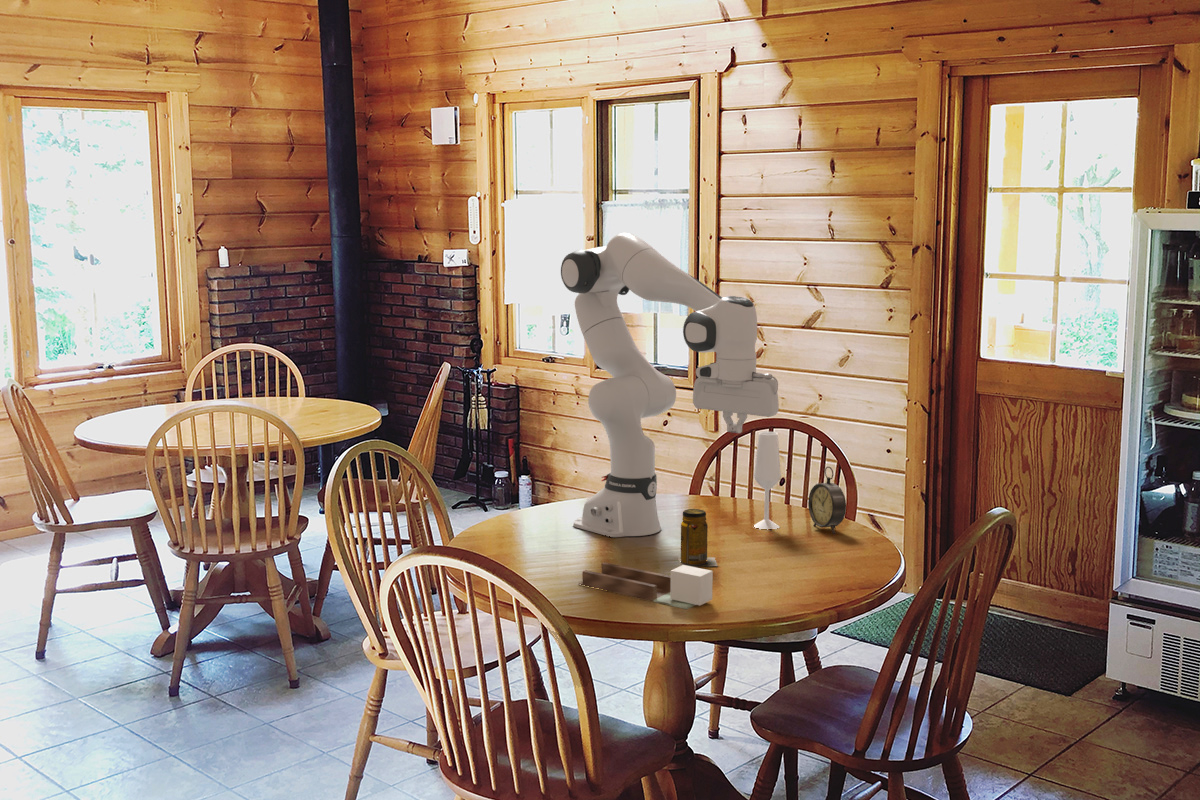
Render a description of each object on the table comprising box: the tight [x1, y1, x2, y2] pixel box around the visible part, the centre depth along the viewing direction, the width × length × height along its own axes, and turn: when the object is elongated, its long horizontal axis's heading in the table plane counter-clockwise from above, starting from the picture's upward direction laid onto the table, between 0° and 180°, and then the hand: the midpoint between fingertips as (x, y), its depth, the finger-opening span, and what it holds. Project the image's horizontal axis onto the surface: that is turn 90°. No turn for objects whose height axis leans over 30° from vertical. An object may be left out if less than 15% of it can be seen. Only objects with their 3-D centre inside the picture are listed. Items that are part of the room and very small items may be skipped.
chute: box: [578, 561, 696, 610], centre depth 246 cm, size 27×8×3 cm, turn 54°
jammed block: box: [670, 565, 713, 606], centre depth 239 cm, size 7×5×6 cm
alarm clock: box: [807, 466, 847, 535], centre depth 293 cm, size 11×5×16 cm, turn 23°
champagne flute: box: [753, 431, 782, 531], centre depth 296 cm, size 7×7×24 cm
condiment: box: [677, 508, 719, 568], centre depth 266 cm, size 7×8×12 cm
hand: (734, 432), depth 262 cm, fingers closed
